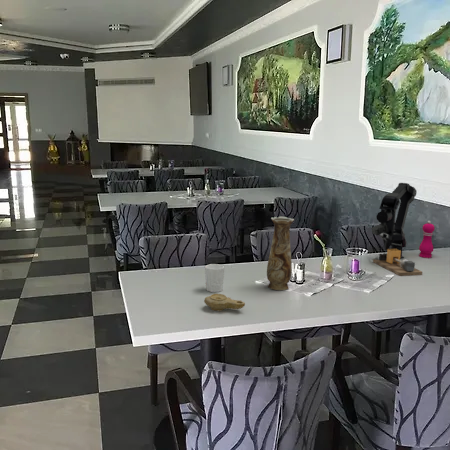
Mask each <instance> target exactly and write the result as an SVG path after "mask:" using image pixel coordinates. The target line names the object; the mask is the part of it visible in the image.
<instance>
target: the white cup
mask: <svg viewBox="0 0 450 450" xmlns="http://www.w3.org/2000/svg"><path fill="white" fill-rule="evenodd" d="M204 267H205V269H204V270H205V271H204V272H205V273H204V274H205V284H206V285H205V288H206V291H207V292H211V293H219V292H222V291H223V287H224V277H225V276H224V275H225V266H224V265H223V264H218V263H210V264H207V265H205V266H204Z"/></svg>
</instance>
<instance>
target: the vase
mask: <svg viewBox="0 0 450 450" xmlns="http://www.w3.org/2000/svg"><path fill="white" fill-rule="evenodd" d="M270 219H271V221H272V223H273V226H274V229H273V234H272V235H273V236H272V241H271V245H270V252H269V257H268V261H267V266H266V278H267V280H268V281H269V283H268V285H267V287H268V288H269V289H271V290H276V291H286V290H289V288H290V287H289V285H288V283H289V282H290V281H291V279H292V271H293V265H292V251H291V236H290V235H291V233H290V230H291V229H290V228H291V226H292V224H293V222H294V221H295V219H294V218H291V217H286V216H281V215H280V216H278V217H277V216H274V217H271V218H270Z"/></svg>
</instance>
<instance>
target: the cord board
mask: <svg viewBox="0 0 450 450" xmlns="http://www.w3.org/2000/svg"><path fill="white" fill-rule="evenodd" d="M378 257H379V258H376V259H375V258H374V259H372V262H373V263H374V264H376V265H378V266H379V267H382V268H384V269H385V270H387V271H389V272H390V273H392V274H394V275H396V276H399V277H406V276H410V277H411V276H423V271H421V270H419V269H417V268H415V265H416V262H415V261H412V260H408V259H406V258H403V259H402V260H401V259H400V260H398V259H396V258H394V257H393V264H390V263H388V262H386V260H387V253H385V252H383V253H379V256H378ZM394 260H395V261H397V262H399V263H396V262H394Z"/></svg>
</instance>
